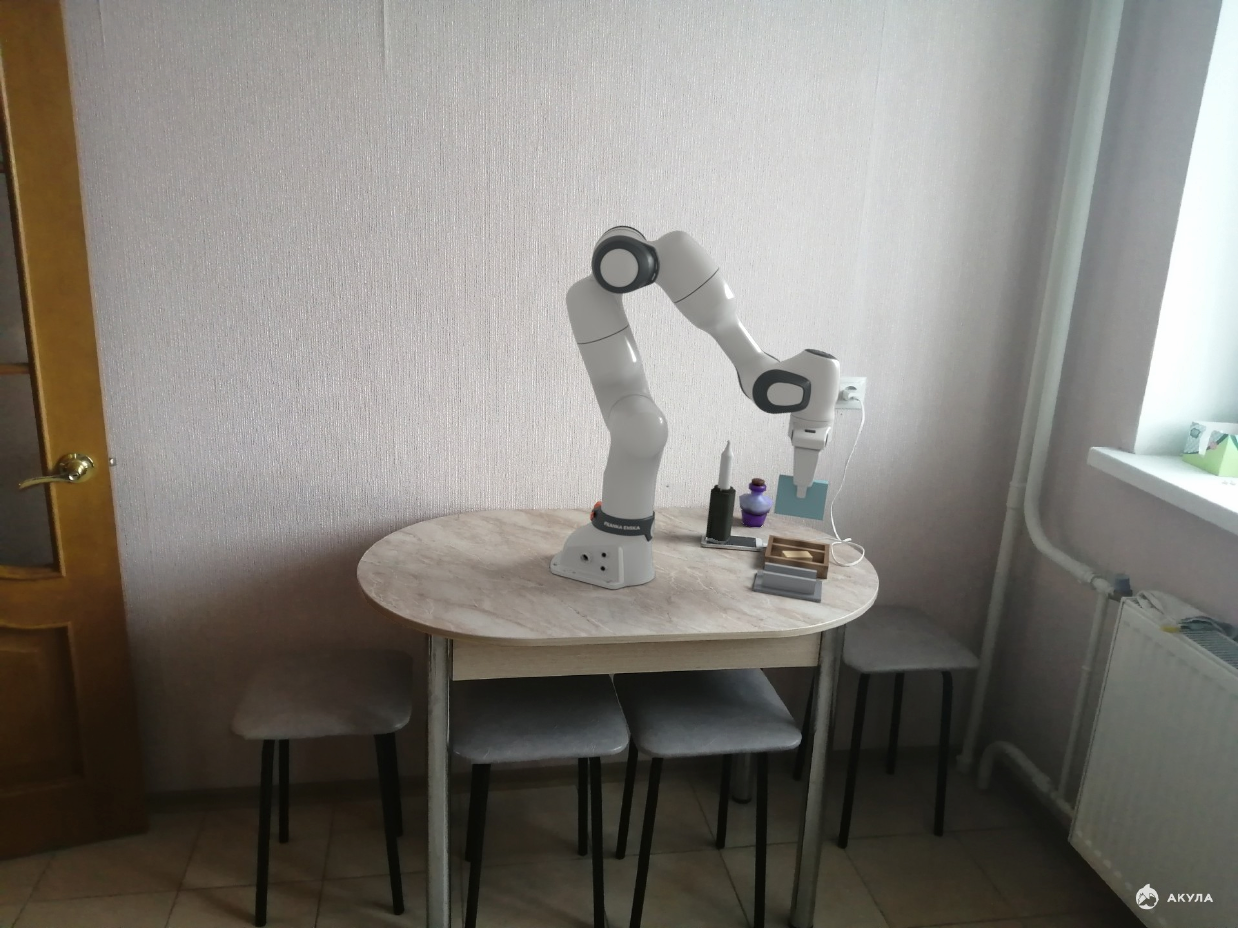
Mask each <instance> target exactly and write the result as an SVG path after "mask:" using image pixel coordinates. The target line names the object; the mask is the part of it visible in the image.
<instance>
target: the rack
mask: <svg viewBox="0 0 1238 928" xmlns="http://www.w3.org/2000/svg"><path fill="white" fill-rule="evenodd" d="M830 544H831V543H830ZM830 544H829V543H824V542H817V541H811V540H804V539H798V538H791V537H786V536H781V535H780V536H779V535H772V534H769V537H768V541H767V546H766V550H765V554H764V560H763V568H762V569H763V570H764V569H765V562H767V563H773V564H779V565H786V566H792V567H798V568H804V569H810V570H816V571H817V574H816V578H818V579H824V580H825V579H828V573H829V565H830ZM782 551H808V553H809V554H810V555H811V556H812V557H813V559H812V562H809V561H802V560H796V559H790V558H784V557H781V555H782Z"/></svg>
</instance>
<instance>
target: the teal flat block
mask: <svg viewBox="0 0 1238 928" xmlns="http://www.w3.org/2000/svg"><path fill="white" fill-rule="evenodd" d="M828 487H829V481H828V480H823V479H816V478H814V480H813V483H812V485H811V487H807V490H806V495H805V498H798V497H797V496H796V495H797V485H795V484H794V482H793V475H788V474H782V473H781V474H779V476H778V481H777V489H776V496H775V504H774V511H773V513H774V514H777V515H783V516H788V517H789V516H790V517H796V518H802V519H808V520H815V521H821V522H822V521H823V520H824V513H825V508H826V500H827V495H828V490H829V489H828Z"/></svg>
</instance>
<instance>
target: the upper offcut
mask: <svg viewBox="0 0 1238 928" xmlns="http://www.w3.org/2000/svg"><path fill="white" fill-rule="evenodd" d="M781 557H784V558H790V559H796V560H802V561H809V562H812V559H813V557H812V556H811V555H810V554H809V553H808V551H782V555H781Z"/></svg>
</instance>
